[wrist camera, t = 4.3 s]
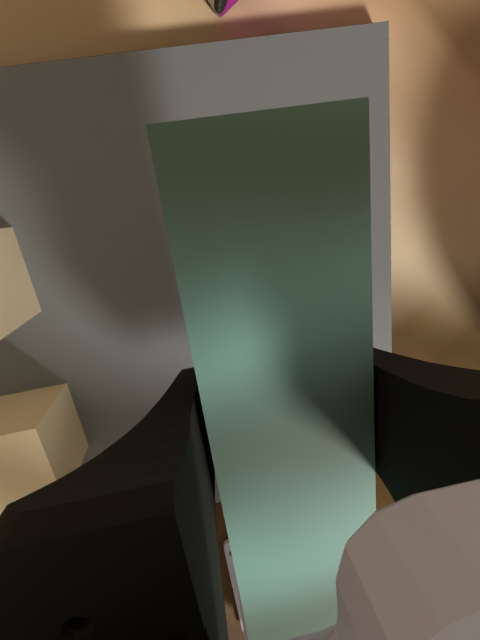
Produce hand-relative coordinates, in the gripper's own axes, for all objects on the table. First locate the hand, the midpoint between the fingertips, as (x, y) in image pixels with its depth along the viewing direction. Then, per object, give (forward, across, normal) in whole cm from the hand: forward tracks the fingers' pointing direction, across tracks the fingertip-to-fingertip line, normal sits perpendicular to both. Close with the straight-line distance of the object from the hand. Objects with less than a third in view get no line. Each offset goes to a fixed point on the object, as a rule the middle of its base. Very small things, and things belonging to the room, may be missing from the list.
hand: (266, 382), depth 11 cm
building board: (+9, +4, 0) cm, 10 cm away
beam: (+1, 0, 0) cm, 1 cm away
